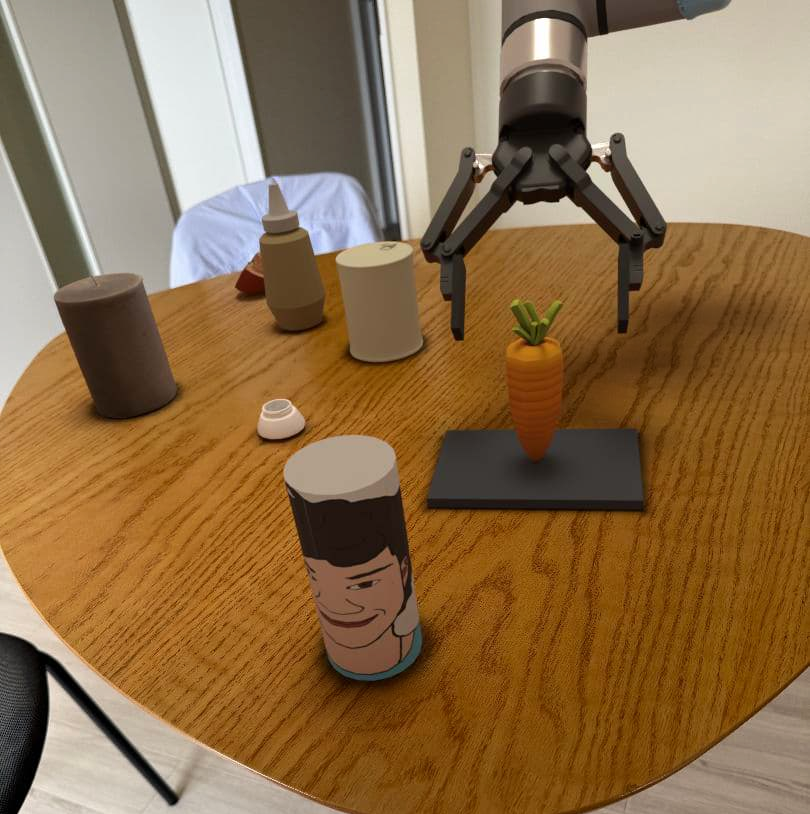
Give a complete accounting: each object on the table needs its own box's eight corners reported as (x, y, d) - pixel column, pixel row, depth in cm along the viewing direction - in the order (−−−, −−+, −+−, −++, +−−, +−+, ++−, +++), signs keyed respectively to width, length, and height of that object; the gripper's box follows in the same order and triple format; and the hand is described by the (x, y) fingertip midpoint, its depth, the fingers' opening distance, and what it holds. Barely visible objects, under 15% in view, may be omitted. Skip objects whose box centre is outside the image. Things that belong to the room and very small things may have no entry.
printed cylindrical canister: (310, 643, 56) (263, 464, 47) (386, 600, 59) (355, 423, 50) (361, 696, 51) (320, 509, 42) (441, 647, 54) (418, 461, 45)
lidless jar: (256, 425, 84) (262, 446, 80) (250, 401, 83) (255, 421, 79) (301, 415, 85) (309, 435, 81) (296, 390, 83) (304, 410, 79)
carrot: (570, 450, 71) (572, 287, 62) (554, 479, 67) (554, 310, 59) (518, 444, 73) (512, 285, 64) (500, 471, 69) (492, 307, 60)
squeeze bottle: (261, 327, 108) (228, 189, 98) (307, 308, 112) (281, 173, 101) (294, 340, 103) (263, 195, 92) (342, 319, 107) (318, 179, 96)
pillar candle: (109, 427, 88) (59, 297, 79) (87, 400, 95) (38, 277, 86) (190, 398, 92) (150, 271, 83) (162, 374, 99) (123, 254, 90)
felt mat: (636, 437, 73) (637, 427, 73) (643, 510, 64) (643, 500, 63) (447, 438, 77) (446, 429, 77) (427, 507, 68) (426, 498, 67)
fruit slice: (246, 283, 125) (238, 252, 122) (287, 280, 124) (280, 248, 121) (231, 302, 118) (223, 269, 115) (274, 299, 117) (267, 265, 114)
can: (437, 337, 98) (428, 239, 91) (395, 367, 92) (382, 265, 85) (378, 328, 103) (365, 234, 96) (335, 356, 97) (318, 258, 90)
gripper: (688, 111, 69) (690, 341, 66) (411, 139, 74) (401, 353, 71) (701, 47, 61) (704, 303, 59) (393, 83, 67) (382, 319, 64)
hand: (538, 331), depth 65 cm, fingers open, 13 cm apart
